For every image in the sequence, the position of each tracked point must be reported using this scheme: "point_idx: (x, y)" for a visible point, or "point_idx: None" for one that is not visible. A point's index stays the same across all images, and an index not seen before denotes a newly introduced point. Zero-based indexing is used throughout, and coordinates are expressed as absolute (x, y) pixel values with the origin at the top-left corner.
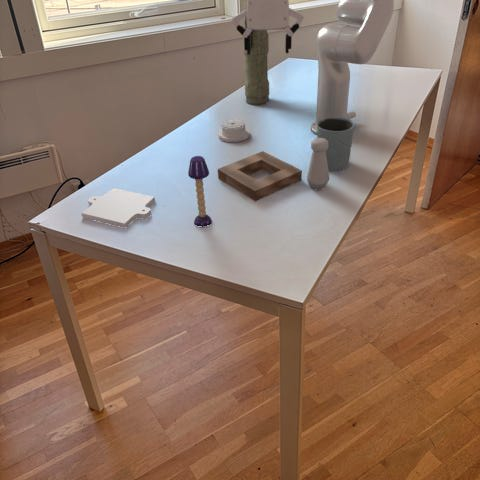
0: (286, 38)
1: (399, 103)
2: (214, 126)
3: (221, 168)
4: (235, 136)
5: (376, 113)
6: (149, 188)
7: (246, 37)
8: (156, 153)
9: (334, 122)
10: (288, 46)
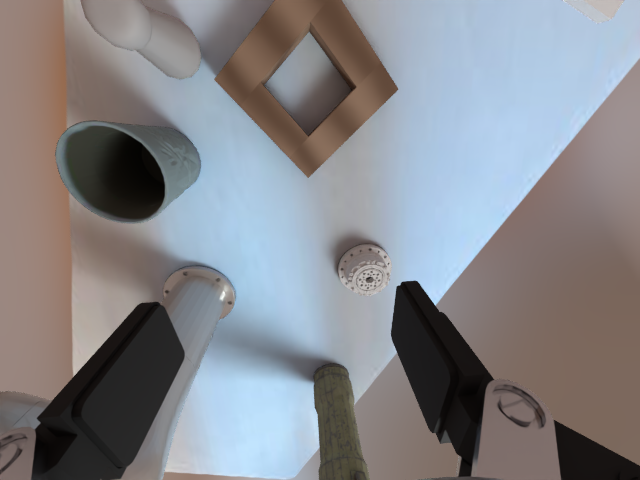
0: (81, 400)
1: None
2: None
3: (390, 92)
4: (362, 253)
5: None
6: (527, 46)
7: (488, 383)
8: (496, 200)
9: (136, 214)
10: (111, 335)
